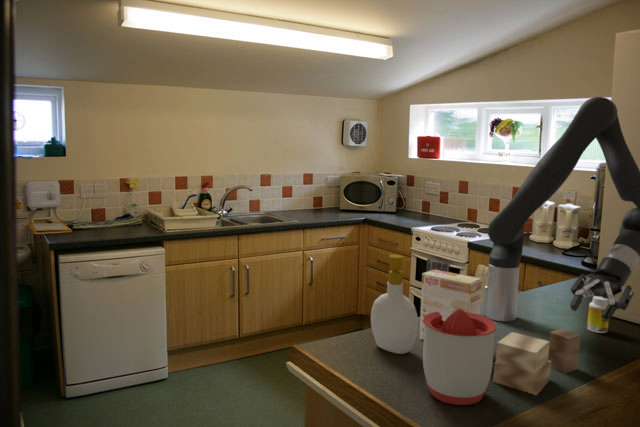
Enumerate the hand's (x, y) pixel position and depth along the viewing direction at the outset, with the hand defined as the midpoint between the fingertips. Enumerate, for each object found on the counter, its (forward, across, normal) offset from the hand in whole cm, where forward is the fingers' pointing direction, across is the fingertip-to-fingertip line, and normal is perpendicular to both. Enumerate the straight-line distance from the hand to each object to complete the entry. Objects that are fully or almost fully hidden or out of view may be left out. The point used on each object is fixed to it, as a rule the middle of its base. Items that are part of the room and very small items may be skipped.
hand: (588, 313), depth 138 cm
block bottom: (+26, 0, -8) cm, 27 cm away
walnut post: (+15, 0, +3) cm, 16 cm away
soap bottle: (+36, -30, -18) cm, 51 cm away
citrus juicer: (+39, -4, -21) cm, 44 cm away
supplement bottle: (-8, -11, +26) cm, 29 cm away
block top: (+23, -1, -12) cm, 26 cm away
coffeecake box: (+25, -26, -7) cm, 37 cm away
